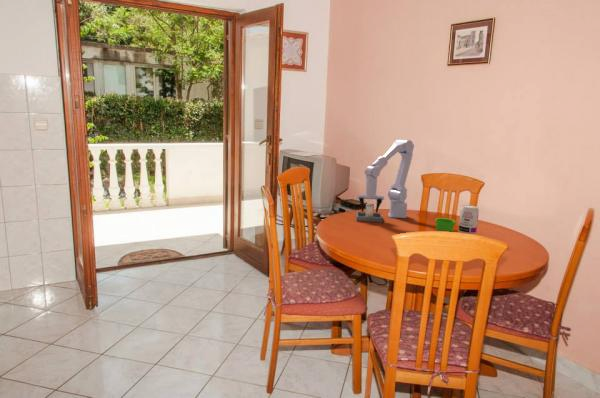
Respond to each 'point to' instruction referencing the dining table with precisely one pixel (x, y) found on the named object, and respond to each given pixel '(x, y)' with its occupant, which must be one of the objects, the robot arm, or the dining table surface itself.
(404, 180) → the robot arm
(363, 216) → the tray
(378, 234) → the dining table surface
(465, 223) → the supplement can
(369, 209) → the shaker
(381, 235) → the dining table surface
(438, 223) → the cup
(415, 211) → the dining table surface
